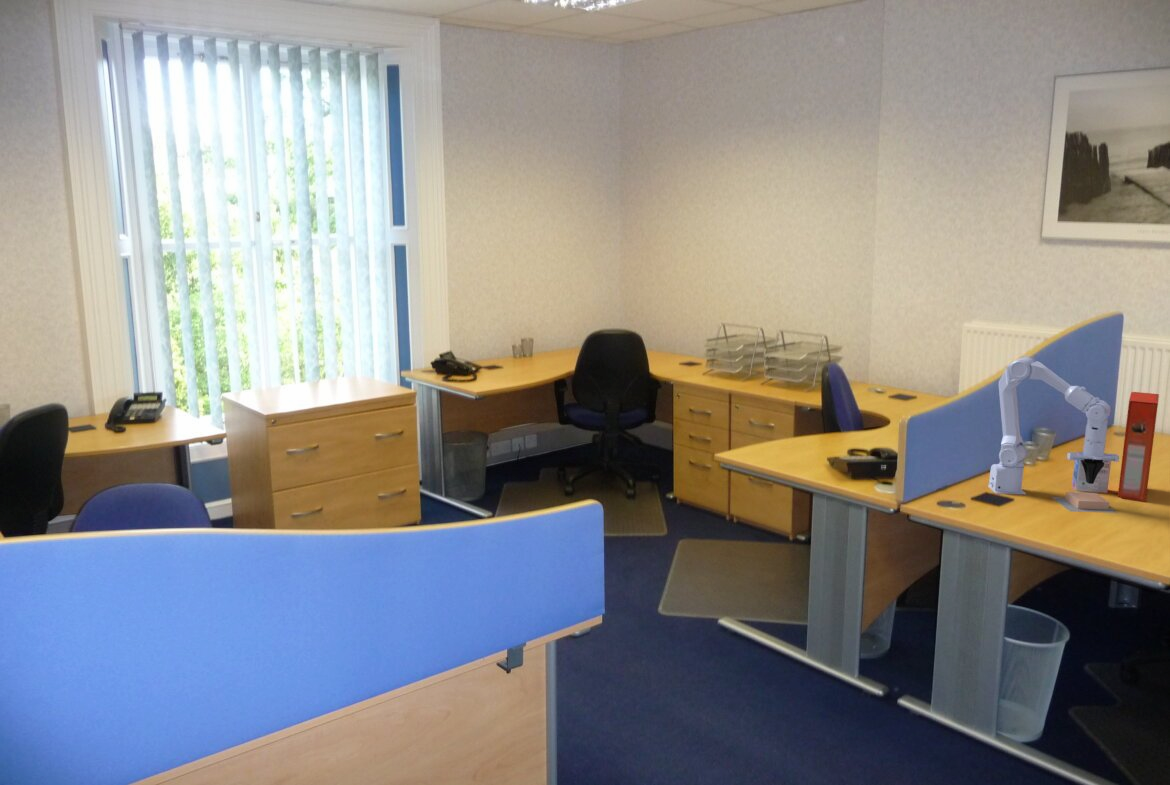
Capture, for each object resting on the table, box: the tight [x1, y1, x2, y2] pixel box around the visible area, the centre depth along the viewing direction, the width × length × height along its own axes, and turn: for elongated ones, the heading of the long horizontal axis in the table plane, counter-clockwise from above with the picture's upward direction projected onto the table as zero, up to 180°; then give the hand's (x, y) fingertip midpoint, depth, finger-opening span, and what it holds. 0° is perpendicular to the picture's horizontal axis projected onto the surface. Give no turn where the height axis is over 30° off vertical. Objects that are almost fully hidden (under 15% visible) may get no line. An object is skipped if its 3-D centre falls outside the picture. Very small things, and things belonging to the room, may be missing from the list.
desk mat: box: [1051, 496, 1118, 514], centre depth 290 cm, size 14×14×1 cm
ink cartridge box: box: [1071, 460, 1112, 494], centre depth 304 cm, size 10×6×14 cm, turn 78°
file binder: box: [1117, 391, 1160, 503], centre depth 299 cm, size 8×17×32 cm, turn 148°
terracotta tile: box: [1065, 491, 1110, 510], centre depth 289 cm, size 3×9×9 cm
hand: (1089, 482), depth 288 cm, fingers closed
